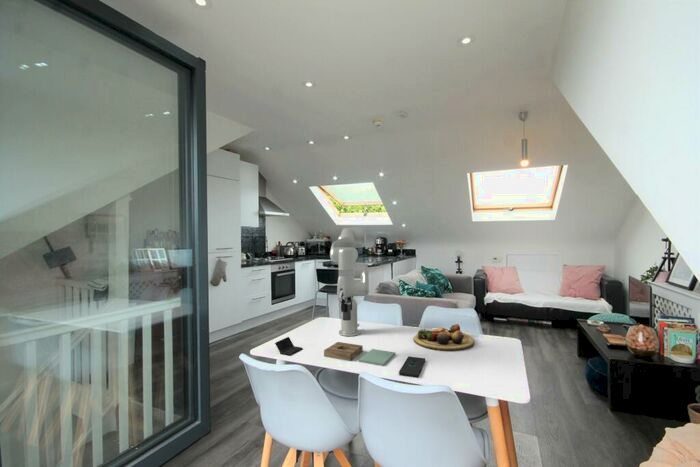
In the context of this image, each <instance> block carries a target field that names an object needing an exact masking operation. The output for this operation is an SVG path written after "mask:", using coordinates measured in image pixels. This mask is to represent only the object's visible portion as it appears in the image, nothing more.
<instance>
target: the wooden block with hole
mask: <svg viewBox="0 0 700 467" xmlns="http://www.w3.org/2000/svg"><path fill="white" fill-rule="evenodd" d="M363 350H364V349H363V345H361V344H356V343H355V344H354V343H347V342H342V341H337V342H336V343H334V344H332V345H330V346H329V347H327V348H325V349H324V350H323V357H326V358H332V359H335V360H336V359H337V360H341V361H349V362H351V361H353V359H355V358H356V357H357V356H359V355H360V354H361V353H363Z"/></svg>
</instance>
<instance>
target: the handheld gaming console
mask: <svg viewBox="0 0 700 467" xmlns="http://www.w3.org/2000/svg"><path fill="white" fill-rule="evenodd" d="M274 345H275V346H276V348H277V350H278V351H279V354H280V355H283V356H289V357H290V356H292V355H294V354H297V353H298V352H300V351H302V350H303V347H300V346H296V345H294V343H293V341H292V340H291V338H290V336H287V337H284V338H282V339H280V340H278V341H276V342H275V343H274Z"/></svg>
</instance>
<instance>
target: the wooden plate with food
mask: <svg viewBox="0 0 700 467" xmlns="http://www.w3.org/2000/svg"><path fill="white" fill-rule="evenodd" d="M413 342H414V343H415V344H416V346H417V345H418V346H420V347H421V348H424V349H428V350H433V351H437V352H438V351H439V352H460V351H465V350H468V349H471V348H472V347H473V346H474V345H475V343H476V342H475V339H474V338H473V337H472V336H471V335H469V334H467V333H464V332H462V331H461V326H460V325H459V323H455V324H453V325H451V326H450V327H449V329H447V328H445V327H437V328H435V329H431V330H430V329H429V330H428V329H427V330H426V328H423V329H419V330H418V331H417V333H416V334H414V336H413Z"/></svg>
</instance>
